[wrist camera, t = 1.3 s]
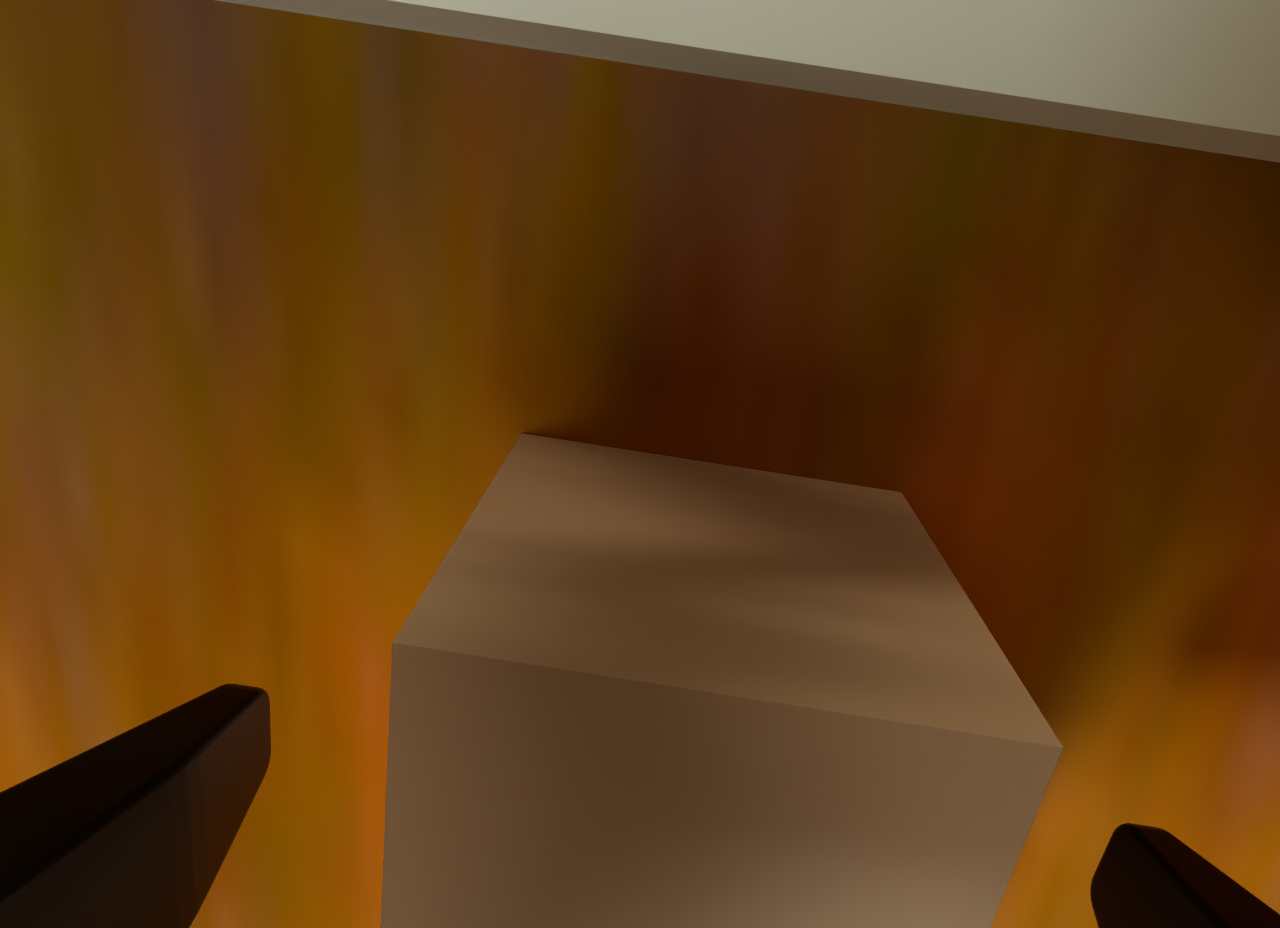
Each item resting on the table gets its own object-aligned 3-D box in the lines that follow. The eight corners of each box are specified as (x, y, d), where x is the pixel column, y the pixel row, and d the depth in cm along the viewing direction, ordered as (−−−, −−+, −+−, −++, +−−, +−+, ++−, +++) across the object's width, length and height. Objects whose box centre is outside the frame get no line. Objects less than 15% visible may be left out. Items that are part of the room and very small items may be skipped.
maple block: (900, 489, 11) (1064, 748, 6) (816, 788, 12) (891, 1167, 8) (523, 431, 11) (392, 642, 6) (492, 738, 12) (374, 1085, 8)
